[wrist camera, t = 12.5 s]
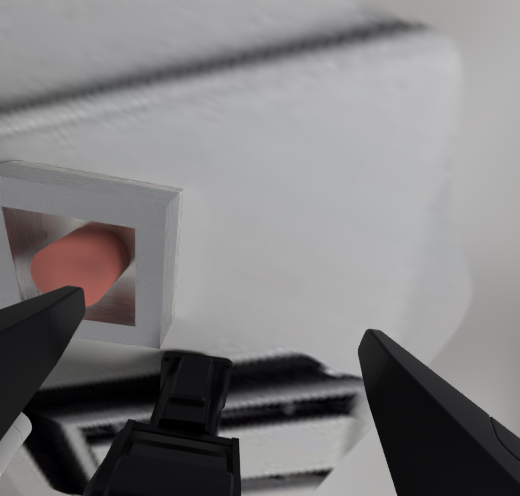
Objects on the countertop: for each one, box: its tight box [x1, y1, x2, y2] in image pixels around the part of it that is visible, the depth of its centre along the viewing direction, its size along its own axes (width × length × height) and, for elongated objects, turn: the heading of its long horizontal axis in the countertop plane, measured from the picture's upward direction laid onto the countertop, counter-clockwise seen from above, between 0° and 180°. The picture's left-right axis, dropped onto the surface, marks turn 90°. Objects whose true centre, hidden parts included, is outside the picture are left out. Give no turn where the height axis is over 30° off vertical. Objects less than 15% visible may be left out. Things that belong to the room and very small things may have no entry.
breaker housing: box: [0, 160, 183, 349], centre depth 20 cm, size 11×11×4 cm
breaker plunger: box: [31, 226, 128, 307], centre depth 19 cm, size 4×4×3 cm
